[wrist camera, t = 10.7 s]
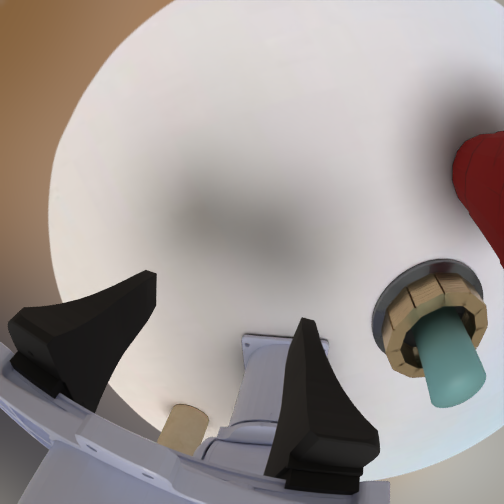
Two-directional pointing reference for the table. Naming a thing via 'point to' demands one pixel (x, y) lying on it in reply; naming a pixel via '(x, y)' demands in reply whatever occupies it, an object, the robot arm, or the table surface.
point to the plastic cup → (483, 185)
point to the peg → (447, 358)
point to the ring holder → (426, 309)
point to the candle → (184, 429)
